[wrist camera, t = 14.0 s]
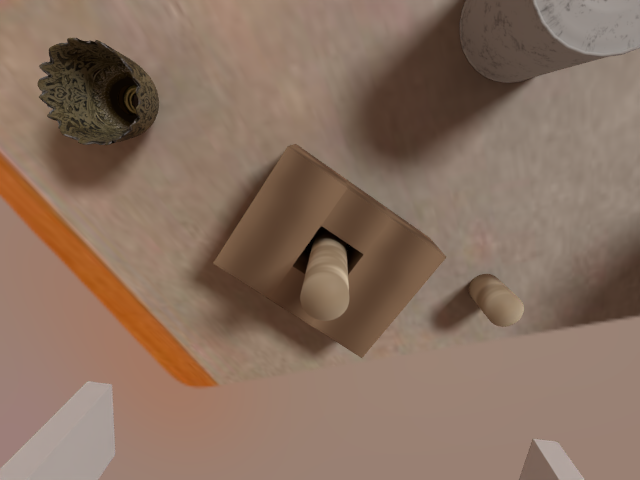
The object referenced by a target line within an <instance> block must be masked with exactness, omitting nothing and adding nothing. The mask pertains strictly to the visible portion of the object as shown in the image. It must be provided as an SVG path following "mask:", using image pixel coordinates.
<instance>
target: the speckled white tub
mask: <svg viewBox="0 0 640 480" xmlns="http://www.w3.org/2000/svg"><path fill="white" fill-rule="evenodd" d="M460 40H461V45H462V49H463V51H464V53H465V55H466V57H467V60H468V61H469V63H470V64H471V65H472V66H473V67H474V69H475V70H476V71H478V72H479V73H480V74H482V75H483V76H485V77H486V78H489V79H491V80H494V81H497V82H505V83H513V82H520V81H524V80H527V79H530V78H533V77H535V76H539V75H542V74H546V73H550V72H553V71H557V70H561V69H564V68H568V67H572V66H575V65H579V64H582V63H586V62H590V61H593V60H597V59H601V58H604V57H608V56H616V55H622V54H625V53H627V52H630V51H633V50H636V49H639V48H640V0H466V1H465V3H464V6H463V8H462V13H461V18H460Z"/></svg>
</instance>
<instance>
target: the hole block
mask: <svg viewBox="0 0 640 480" xmlns="http://www.w3.org/2000/svg"><path fill="white" fill-rule="evenodd" d="M320 226H322V227H324V228H325V229H327V230H328V231H330V232H331V233H333V234H334V235H336V236H337V237H339V238H340V239H342V240H343V241H345V242H346V243H348V244H349V245H350V246H352V247H351V248H350V249H349V251H348V252H347V267H348V284H349V304H348V307H347V309H346V311H345V312H344V313H343V314H342V315H341V316H340V317H338V318H336V319H333V320H330V321H321V320H317V319H314V318H312V317H311V316H309V315H308V314H307V313H306V312H305V311H304V309H303V307H302V305H301V301H300V295H301V290H302V286H303V282H304V278H305V274H306V269H307V265H308V261H309V257H310V253H309V252H308V251H306V250H304V249H305V248H306V246H307V245H308V243H309V242H310V240H311V239H312V238H313V236H314V235H315V233H316V232H317V231H318V229H319V228H320ZM445 258H446V256H445V255H444V254H443V253H442V252H441V250H440V249H439V248H438V247H437V246H436V245H435V244H434V242H433V241H432V240H431V239H430V238H429V237H428V236H426V235H425V234H423V233H422V232H421V231H419V230H418V229H416V228H415V227H413V226H412V225H411V224H409V223H408V222H406V221H405V220H403V219H402V218H401V217H399V216H398V215H396V214H395V213H393V212H392V211H391V210H389V209H388V208H386V207H385V206H383V205H382V204H381V203H379V202H378V201H376V200H375V199H373V198H372V197H371V196H369V195H368V194H366V193H365V192H364V191H362V190H361V189H359V188H358V187H356V186H355V185H354V184H352V183H351V182H349V181H348V180H346V179H345V178H344V177H342V176H341V175H339V174H338V173H336V172H335V171H334V170H332V169H331V168H329V167H328V166H326V165H325V164H324V163H322V162H321V161H319V160H318V159H316V158H315V157H314V156H312V155H311V154H309V153H308V152H306V151H305V150H304V149H302V148H301V147H299V146H298V145H297V144H294V145H291V146H288V147H287V148H286V150H285V151H284V153H283V155H282V156H281V158H280V159H279V161H278V162H277V164H276V166H275V167H274V169H273V170H272V172H271V173H270V175H269V177H268V178H267V180H266V181H265V183H264V184H263V186H262V187H261V189H260V191H259V192H258V194H257V195H256V197H255V198H254V200H253V202H252V203H251V205H250V206H249V208H248V209H247V211H246V212H245V214H244V216H243V217H242V219H241V220H240V222H239V223H238V225H237V227H236V228H235V230H234V231H233V233H232V234H231V236H230V237H229V239H228V241H227V242H226V244H225V245H224V247H223V248H222V250H221V252H220V253H219V255H218V256H217V258H216V259H215V261H214V262H213V264H215V265H216V266H218V267H219V268H221V269H222V270H224V271H226V272H227V273H229V274H230V275H232V276H233V277H235V278H237V279H238V280H240V281H241V282H243V283H245V284H246V285H248V286H249V287H251V288H252V289H254V290H256V291H257V292H259V293H260V294H262V295H263V296H265V297H267V298H268V299H270V300H271V301H273V302H274V303H276V304H278V305H279V306H281V307H282V308H284V309H286V310H287V311H289V312H290V313H292V314H293V315H295V316H297V317H298V318H300V319H301V320H303V321H304V322H306V323H308V324H309V325H311V326H312V327H314V328H315V329H317V330H319V331H320V332H322V333H323V334H325V335H326V336H328V337H330V338H331V339H333V340H334V341H336V342H338V343H339V344H341V345H342V346H344V347H345V348H347V349H349V350H350V351H352V352H353V353H355V354H356V355H358V356H360V357H361V358H362V357H363V356H364V355H365V354H366V353H367V351H368V350H369V349H370V348H371V347H372V345H373V344H374V343H375V342H376V341H377V339H378V338H379V337H380V336H381V335H382V333H383V332H384V331H385V330H386V329H387V327H388V326H389V325H390V324H391V323H392V322H393V320H394V319H395V318H396V317H397V316H398V314H399V313H400V312H401V311H402V310H403V308H404V307H405V306H406V305H407V304H408V302H409V301H410V300H411V299H412V298H413V296H414V295H415V294H416V293H417V292H418V291H419V289H420V288H421V287H422V286H423V285H424V283H425V282H426V281H427V280H428V279H429V277H430V276H431V275H432V274H433V273H434V271H435V270H436V269H437V268H438V267H439V265H440V264H441V263H442V262H443V261H444V259H445Z"/></svg>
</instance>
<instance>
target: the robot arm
mask: <svg viewBox="0 0 640 480" xmlns="http://www.w3.org/2000/svg"><path fill="white" fill-rule="evenodd" d="M113 418H114V417H113V397H112V385H111V384H104V383H97V382H89V381H88V382H87V383H85V384H84V385H83V386H82V388H81V389H79V390H78V391H77V392H76V394H75V395H73V397H72V398H70V399H69V400H68V401H67V402H66V403H65V404H64V406H63V407H62V408H60V409H59V410H58V411H57V412H56V413H55V414H54V415H53V416H52V417H51V419H49V421H48V422H46V423H45V425H43V426H42V428H40V429H39V431H37V433H35V434H34V435H33V437H31V438H30V440H28V441H27V442H26V443H25V444H24V445H23V446H22V447H21V448H20V449H19V451H17V452H16V453H15V454H14V455H13V456H12V458H10V459H9V460H8V461H7V462H6V463H5V464H4V465H3V466H2V467H1V468H0V480H98V479H99V478H100V476H101V475H102V473H103V472H104V470H105V469H106V467H107V466H108V464H109V463H110V462H111V460H112V459H113V457H114V456H115V439H114V419H113ZM519 480H585V479H584V478H583V476H582V475H581V474H580V472H579V471H578V469H577V468H576V467H575V465H574V464H573V462H572V461H571V459H570V458H569V457H568V455H567V454H566V452H565V451H564V450H563V448H562V447H561V446H560V444H559V442H556V441H548V440H541V439H533V440H532V443H531V446H530V449H529V452H528V455H527V458H526V461H525V464H524V467H523V470H522V473H521V476H520V479H519Z"/></svg>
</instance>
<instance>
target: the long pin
mask: <svg viewBox="0 0 640 480" xmlns="http://www.w3.org/2000/svg"><path fill="white" fill-rule="evenodd" d="M300 301H301V305H302V307H303V309H304V311H305V312H306V313H307V314H308V315H309V316H311V317H312V318H314V319H317V320H321V321H330V320H333V319H336V318H338V317H340V316H341V315H342V314H343V313H344V312H345V311H346V309H347V307H348V304H349V284H348V267H347V250H346V242H345V241H343V240H342V239H340V238H339V237H337V236H336V235H334V234H333V233H331V232H330V231H328V230H327V229H325V228H324V227H320V228H319V229H318V231H317V232H316V233H315V236H314V240H313V245H312V249H311V253H310V257H309V261H308V265H307V269H306V274H305V278H304V282H303V286H302V290H301V295H300Z"/></svg>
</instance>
